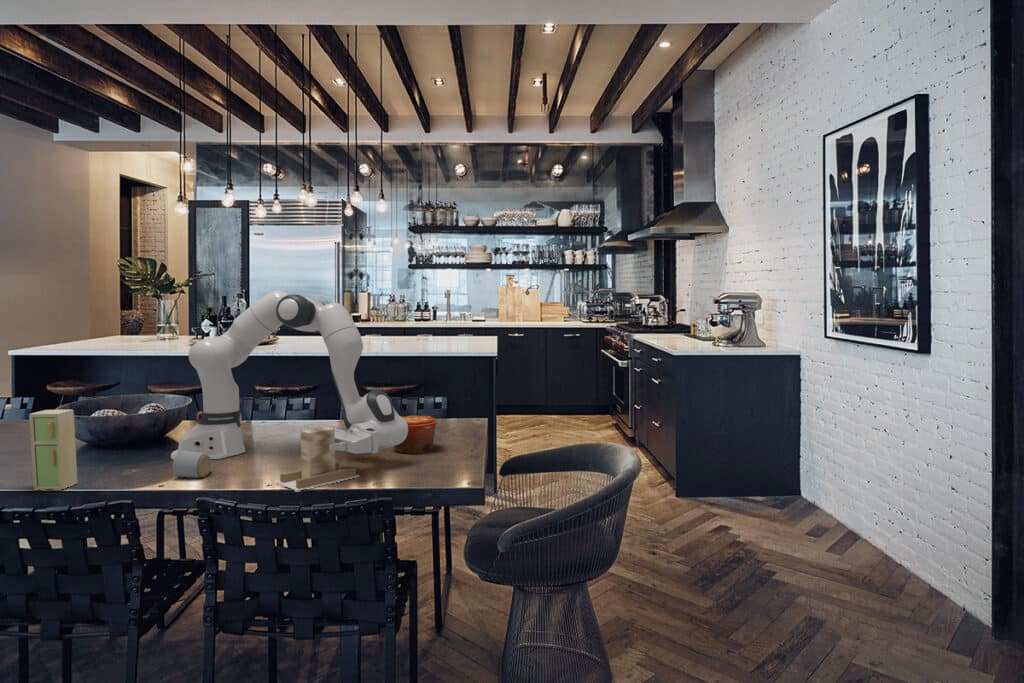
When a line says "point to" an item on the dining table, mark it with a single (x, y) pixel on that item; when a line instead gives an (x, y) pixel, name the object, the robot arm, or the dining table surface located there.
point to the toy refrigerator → (53, 449)
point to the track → (315, 478)
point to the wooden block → (317, 451)
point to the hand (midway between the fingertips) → (319, 445)
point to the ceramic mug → (191, 464)
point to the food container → (418, 435)
